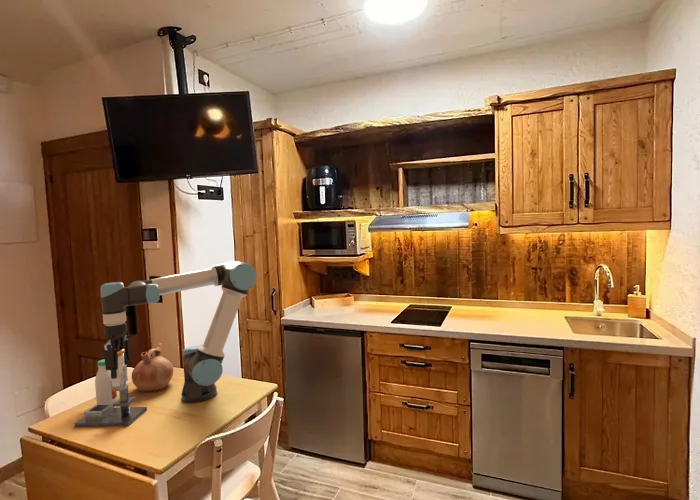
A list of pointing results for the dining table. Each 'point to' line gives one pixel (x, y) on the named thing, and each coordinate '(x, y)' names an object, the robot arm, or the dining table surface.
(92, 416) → the grey fixture stand
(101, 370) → the milk bottle
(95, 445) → the dining table surface
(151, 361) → the jug
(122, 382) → the glass jar
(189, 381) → the robot arm
